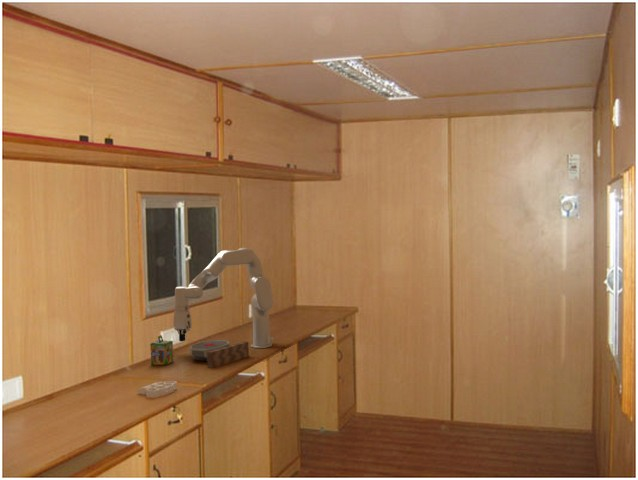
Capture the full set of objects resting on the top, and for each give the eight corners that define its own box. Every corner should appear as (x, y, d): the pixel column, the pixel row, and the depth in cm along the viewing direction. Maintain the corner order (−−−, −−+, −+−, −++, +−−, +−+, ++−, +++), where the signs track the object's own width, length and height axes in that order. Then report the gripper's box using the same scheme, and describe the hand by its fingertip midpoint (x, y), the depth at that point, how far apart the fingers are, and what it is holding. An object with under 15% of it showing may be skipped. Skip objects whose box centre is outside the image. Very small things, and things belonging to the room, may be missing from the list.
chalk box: (166, 365, 361) (165, 337, 360) (150, 365, 363) (149, 337, 362) (174, 361, 370) (173, 334, 369) (158, 361, 372) (157, 334, 371)
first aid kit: (212, 364, 362) (235, 354, 386) (212, 350, 362) (234, 341, 385) (184, 362, 368) (207, 352, 392) (183, 348, 368) (207, 339, 391)
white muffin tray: (158, 386, 321) (184, 389, 315) (133, 396, 305) (159, 399, 299) (158, 379, 321) (184, 382, 315) (132, 389, 305) (159, 392, 298)
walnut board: (244, 355, 380) (244, 341, 380) (248, 356, 379) (248, 342, 378) (207, 367, 355) (207, 351, 355) (211, 367, 354) (211, 352, 353)
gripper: (196, 308, 385) (196, 341, 386) (177, 306, 394) (177, 338, 394) (186, 310, 379) (187, 343, 380) (167, 308, 387) (167, 340, 388)
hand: (182, 340), depth 387 cm, fingers closed
